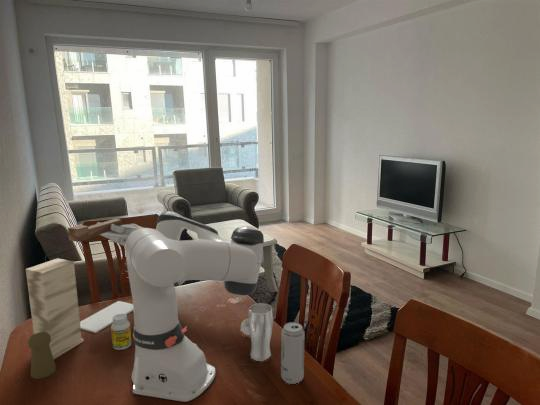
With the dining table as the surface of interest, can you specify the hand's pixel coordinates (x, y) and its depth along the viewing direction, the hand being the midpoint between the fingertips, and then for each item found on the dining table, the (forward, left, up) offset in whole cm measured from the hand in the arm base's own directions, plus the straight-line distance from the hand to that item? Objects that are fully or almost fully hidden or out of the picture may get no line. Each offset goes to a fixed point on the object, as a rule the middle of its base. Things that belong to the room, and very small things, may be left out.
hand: (105, 225), depth 129 cm
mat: (+1, +1, -33) cm, 33 cm away
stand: (0, +21, -33) cm, 39 cm away
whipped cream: (-50, -9, -33) cm, 60 cm away
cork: (-7, +32, -33) cm, 46 cm away
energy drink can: (-70, +7, -33) cm, 78 cm away
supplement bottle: (-17, +13, -33) cm, 39 cm away
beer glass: (-58, +1, -33) cm, 67 cm away
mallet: (0, +3, -2) cm, 4 cm away
